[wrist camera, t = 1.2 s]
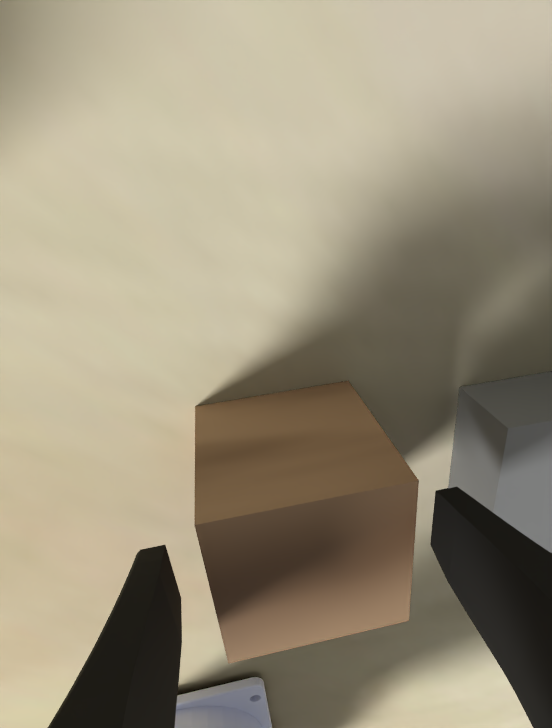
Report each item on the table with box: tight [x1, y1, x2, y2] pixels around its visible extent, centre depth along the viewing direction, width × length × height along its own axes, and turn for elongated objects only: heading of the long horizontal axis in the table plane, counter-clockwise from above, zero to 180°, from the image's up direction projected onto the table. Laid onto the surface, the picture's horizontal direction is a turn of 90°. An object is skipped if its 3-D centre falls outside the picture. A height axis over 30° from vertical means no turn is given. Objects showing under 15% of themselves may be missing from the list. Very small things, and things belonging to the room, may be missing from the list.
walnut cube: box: [195, 381, 419, 663], centre depth 12 cm, size 5×5×5 cm
